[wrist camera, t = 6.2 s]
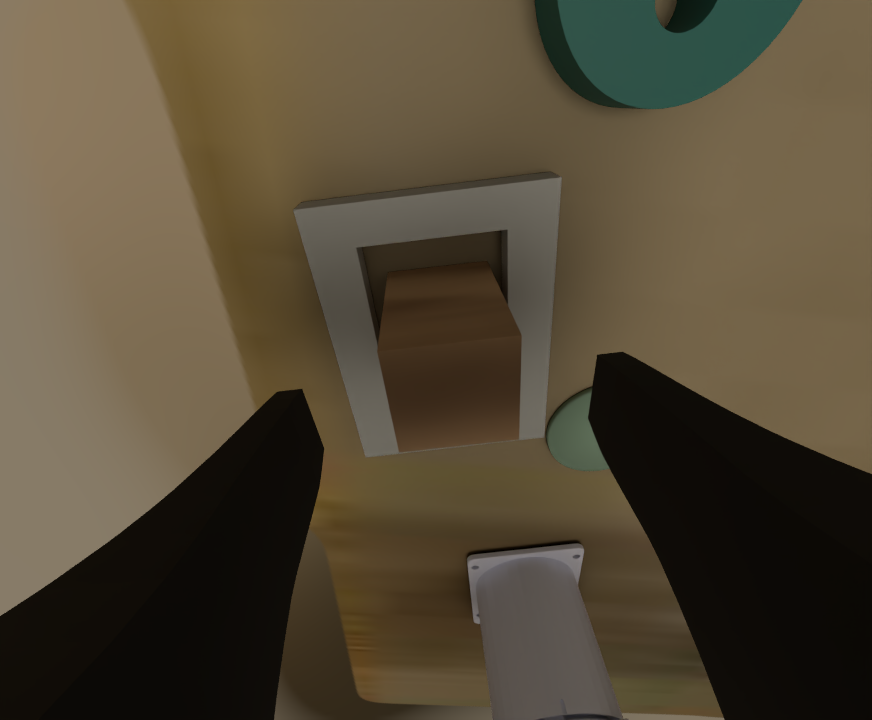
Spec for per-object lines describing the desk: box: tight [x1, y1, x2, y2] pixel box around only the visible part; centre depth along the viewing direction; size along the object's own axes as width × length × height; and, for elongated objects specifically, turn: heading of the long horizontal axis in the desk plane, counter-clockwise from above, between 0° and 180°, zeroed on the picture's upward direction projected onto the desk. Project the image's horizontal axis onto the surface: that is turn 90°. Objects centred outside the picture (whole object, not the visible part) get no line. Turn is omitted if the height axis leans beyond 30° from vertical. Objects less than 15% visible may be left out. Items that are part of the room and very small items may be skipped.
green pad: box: [546, 387, 609, 471], centre depth 21 cm, size 6×6×1 cm
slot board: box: [293, 172, 562, 457], centre depth 17 cm, size 12×9×1 cm
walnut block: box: [377, 261, 522, 453], centre depth 14 cm, size 4×4×6 cm
